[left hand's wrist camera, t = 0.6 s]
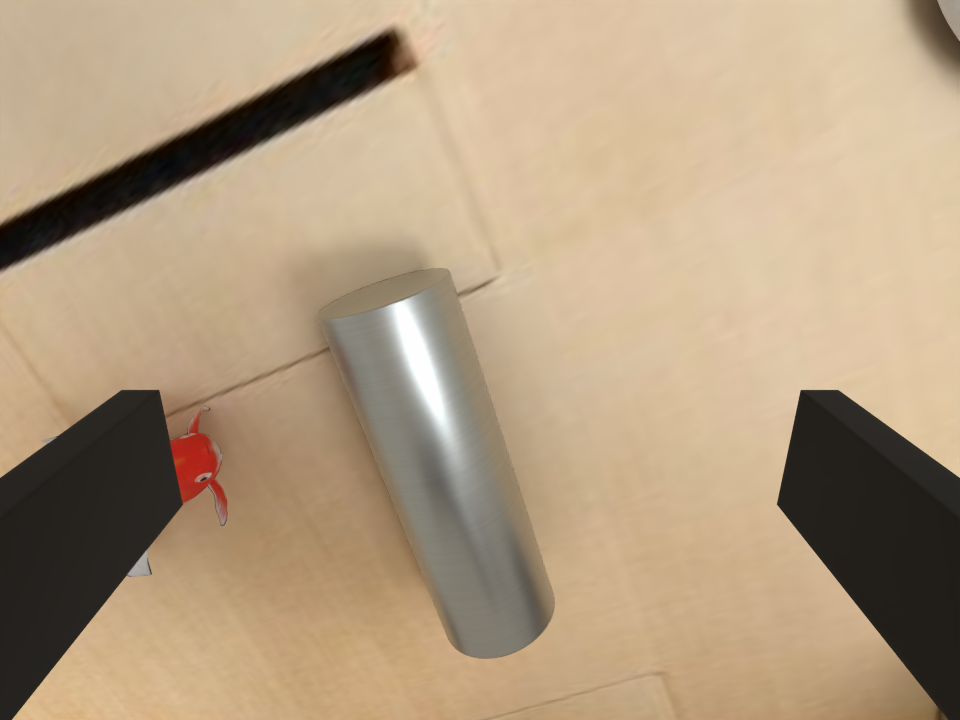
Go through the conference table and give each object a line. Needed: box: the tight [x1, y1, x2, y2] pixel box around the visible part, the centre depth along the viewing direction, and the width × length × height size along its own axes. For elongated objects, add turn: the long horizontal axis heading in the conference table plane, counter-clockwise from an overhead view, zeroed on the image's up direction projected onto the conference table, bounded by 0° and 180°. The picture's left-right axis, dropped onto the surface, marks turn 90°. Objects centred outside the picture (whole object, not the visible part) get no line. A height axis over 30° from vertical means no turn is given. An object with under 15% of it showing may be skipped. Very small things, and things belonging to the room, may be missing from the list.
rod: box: [317, 268, 555, 659], centre depth 39 cm, size 25×8×8 cm, turn 17°
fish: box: [43, 406, 228, 577], centre depth 40 cm, size 11×16×10 cm
